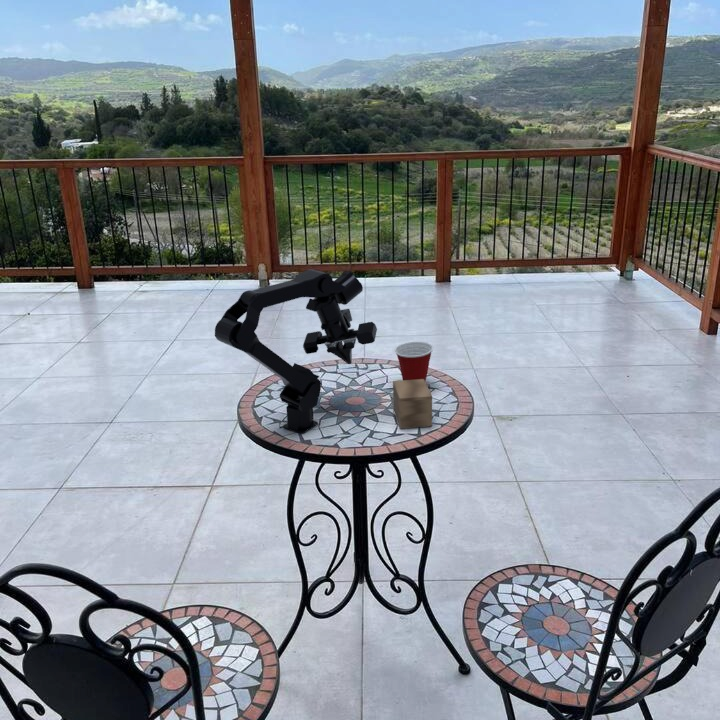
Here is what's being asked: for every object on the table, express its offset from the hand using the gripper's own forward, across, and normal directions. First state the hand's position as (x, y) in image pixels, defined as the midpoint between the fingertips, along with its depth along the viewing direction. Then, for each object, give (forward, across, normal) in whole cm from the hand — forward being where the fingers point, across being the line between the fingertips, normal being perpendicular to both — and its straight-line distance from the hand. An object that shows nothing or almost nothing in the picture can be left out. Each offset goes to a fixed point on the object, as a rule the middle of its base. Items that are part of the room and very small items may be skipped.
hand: (350, 362), depth 177 cm
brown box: (+13, -14, +10) cm, 22 cm away
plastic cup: (+19, -11, -9) cm, 24 cm away
